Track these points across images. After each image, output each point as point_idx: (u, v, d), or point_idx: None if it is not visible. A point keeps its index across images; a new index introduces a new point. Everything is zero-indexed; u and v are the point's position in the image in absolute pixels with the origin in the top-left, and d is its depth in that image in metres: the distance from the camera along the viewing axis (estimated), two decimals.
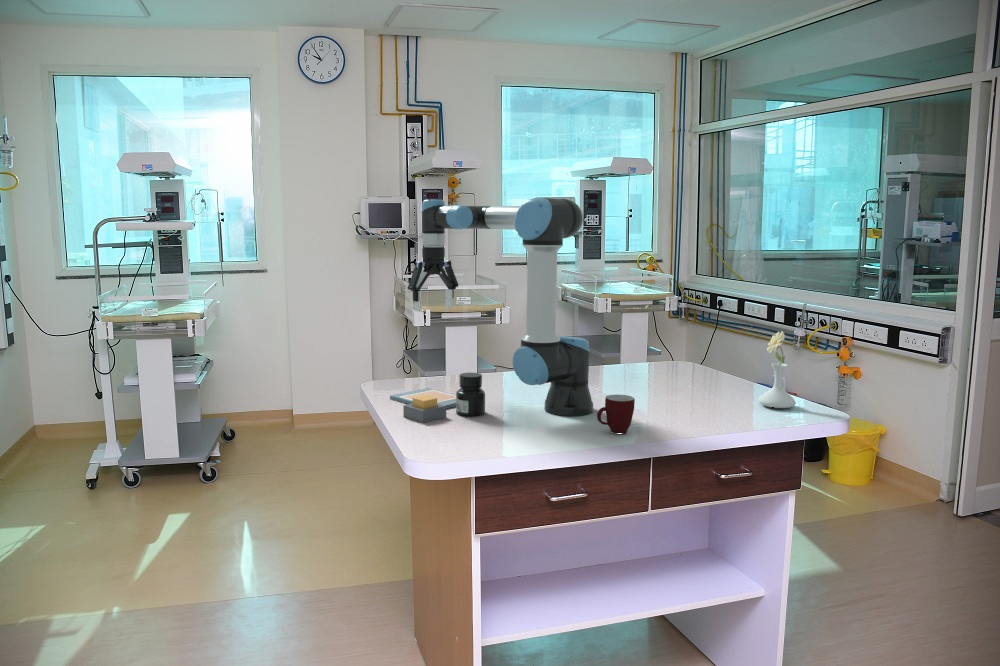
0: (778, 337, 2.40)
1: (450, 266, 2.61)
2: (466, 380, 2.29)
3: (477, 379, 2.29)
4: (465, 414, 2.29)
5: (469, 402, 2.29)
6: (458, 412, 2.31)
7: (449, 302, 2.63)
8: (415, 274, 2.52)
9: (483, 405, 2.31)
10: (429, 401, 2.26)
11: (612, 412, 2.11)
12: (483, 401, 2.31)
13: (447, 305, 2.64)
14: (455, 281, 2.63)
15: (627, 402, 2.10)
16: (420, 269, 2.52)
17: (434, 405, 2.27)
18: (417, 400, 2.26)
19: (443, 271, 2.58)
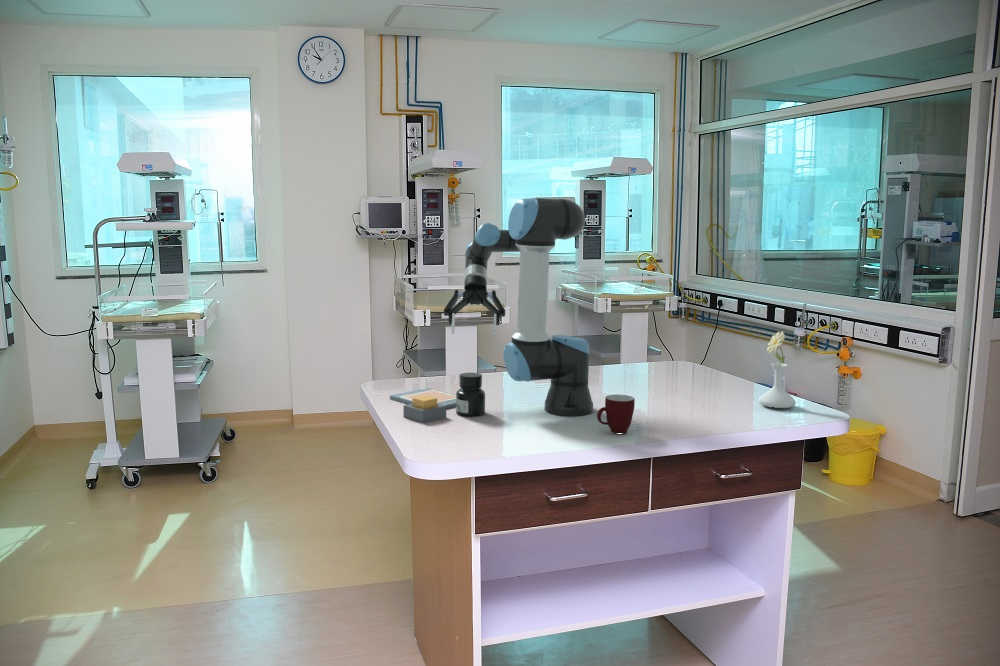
0: (778, 337, 2.40)
1: (494, 295, 2.55)
2: (466, 380, 2.29)
3: (477, 379, 2.29)
4: (465, 414, 2.29)
5: (469, 402, 2.29)
6: (458, 412, 2.31)
7: None
8: None
9: (483, 405, 2.31)
10: (429, 401, 2.26)
11: (612, 412, 2.11)
12: (483, 401, 2.31)
13: None
14: (501, 307, 2.52)
15: (627, 402, 2.10)
16: (455, 295, 2.55)
17: (434, 405, 2.27)
18: (417, 400, 2.26)
19: (483, 297, 2.54)
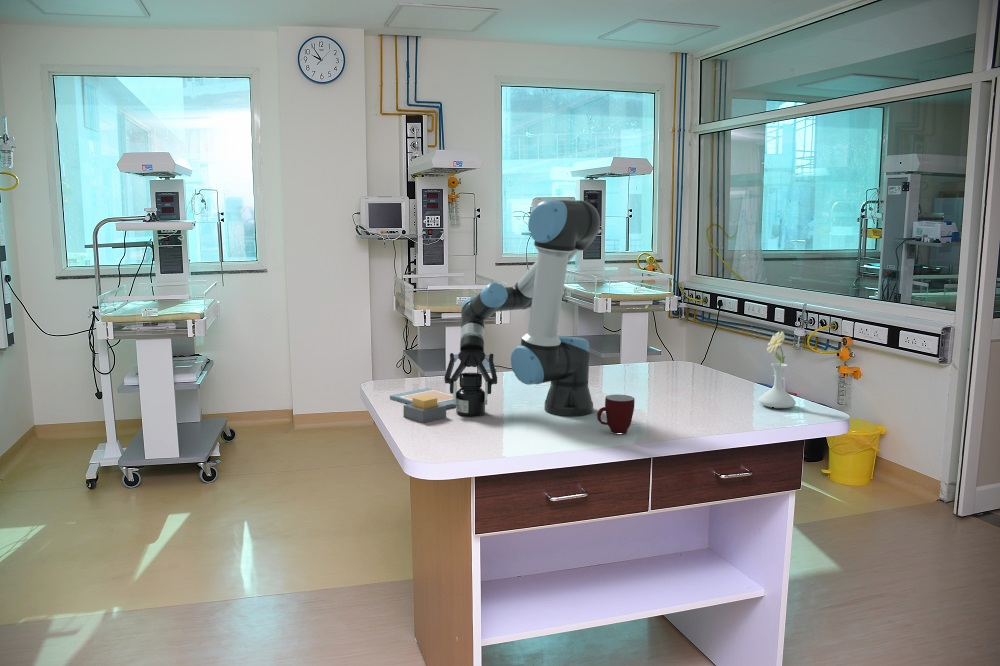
0: (778, 337, 2.40)
1: (491, 358, 2.38)
2: (466, 380, 2.29)
3: (477, 379, 2.29)
4: (465, 414, 2.29)
5: (469, 402, 2.29)
6: (458, 412, 2.31)
7: None
8: None
9: (483, 405, 2.31)
10: (429, 401, 2.26)
11: (612, 412, 2.11)
12: (483, 401, 2.31)
13: None
14: (494, 374, 2.34)
15: (627, 402, 2.10)
16: (451, 359, 2.37)
17: (434, 405, 2.27)
18: (417, 400, 2.26)
19: (479, 360, 2.37)
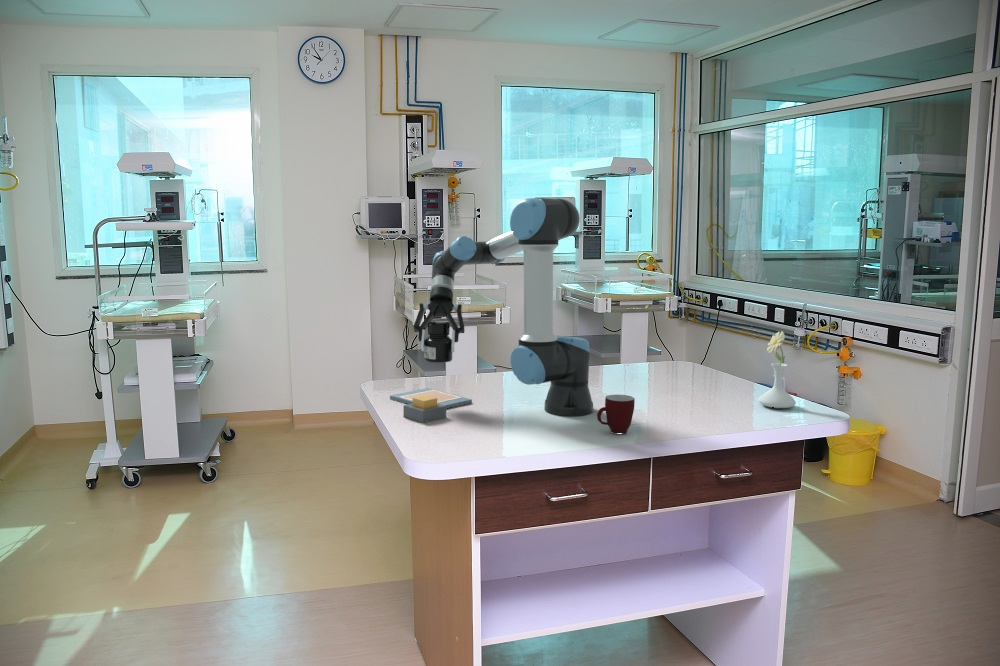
0: (778, 337, 2.40)
1: (459, 309, 2.47)
2: (434, 328, 2.38)
3: (444, 327, 2.39)
4: (433, 360, 2.39)
5: (436, 349, 2.38)
6: (426, 359, 2.41)
7: None
8: None
9: (450, 352, 2.41)
10: (429, 401, 2.26)
11: (612, 412, 2.11)
12: (450, 348, 2.41)
13: None
14: (461, 323, 2.44)
15: (627, 402, 2.10)
16: (421, 309, 2.47)
17: (434, 405, 2.27)
18: (417, 400, 2.26)
19: (447, 310, 2.46)
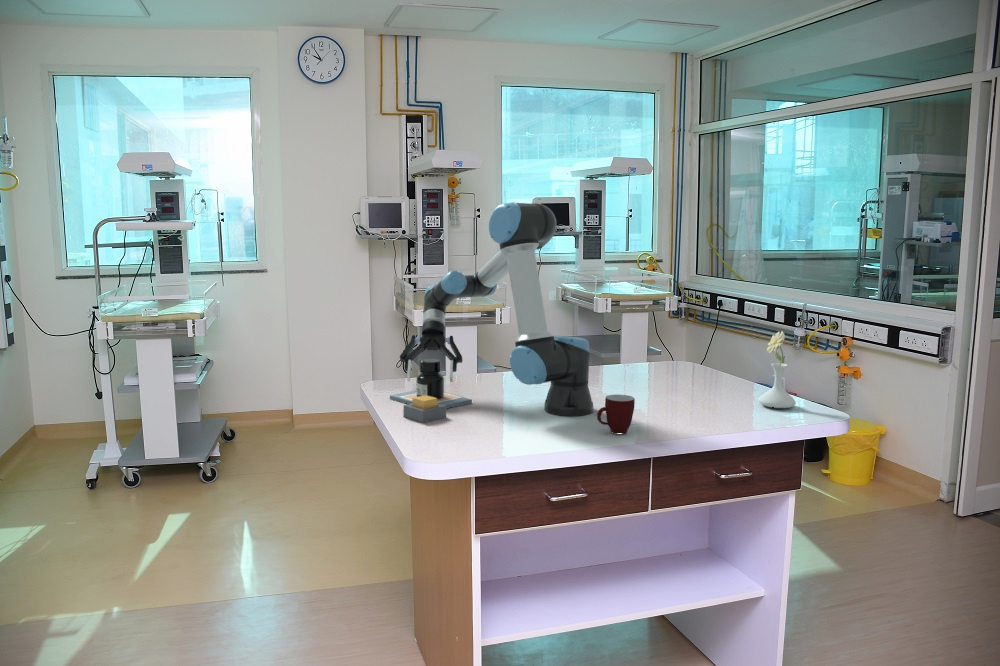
0: (778, 337, 2.40)
1: (451, 340, 2.52)
2: (425, 365, 2.43)
3: (435, 364, 2.44)
4: None
5: (427, 386, 2.43)
6: (418, 396, 2.45)
7: (450, 372, 2.46)
8: None
9: (442, 389, 2.46)
10: (429, 401, 2.26)
11: (612, 412, 2.11)
12: (442, 385, 2.46)
13: (450, 377, 2.46)
14: (458, 353, 2.49)
15: (627, 402, 2.10)
16: (412, 341, 2.52)
17: (434, 405, 2.27)
18: (417, 400, 2.26)
19: (440, 343, 2.51)
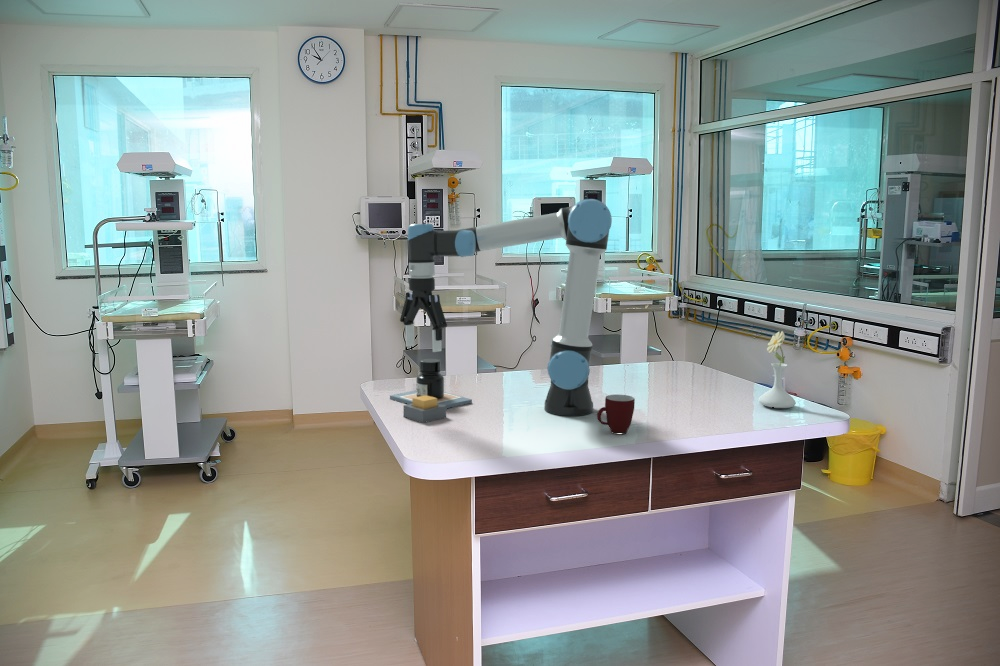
0: (778, 337, 2.40)
1: None
2: (425, 365, 2.43)
3: (435, 364, 2.44)
4: None
5: (427, 386, 2.43)
6: (418, 396, 2.45)
7: (412, 339, 2.32)
8: (439, 309, 2.19)
9: (442, 389, 2.46)
10: (429, 401, 2.26)
11: (612, 412, 2.11)
12: (442, 385, 2.46)
13: (410, 343, 2.32)
14: None
15: (627, 402, 2.10)
16: None
17: (434, 405, 2.27)
18: (417, 400, 2.26)
19: None
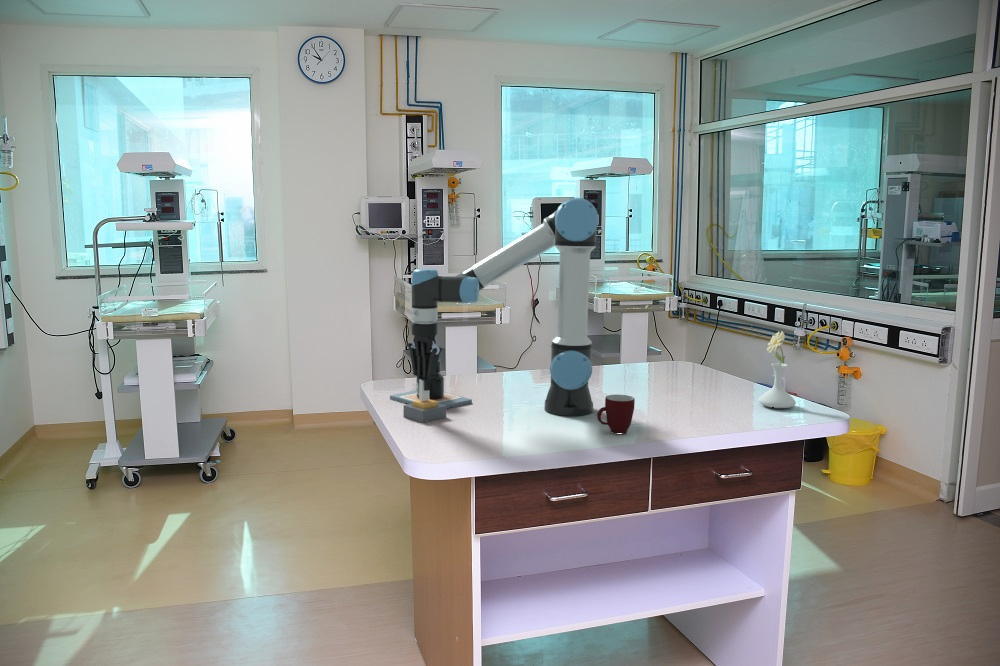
0: (778, 337, 2.40)
1: None
2: None
3: None
4: None
5: None
6: (418, 396, 2.45)
7: None
8: (435, 362, 2.23)
9: (442, 389, 2.46)
10: (429, 404, 2.26)
11: (612, 412, 2.11)
12: (442, 385, 2.46)
13: None
14: None
15: (627, 402, 2.10)
16: None
17: None
18: (417, 403, 2.26)
19: None
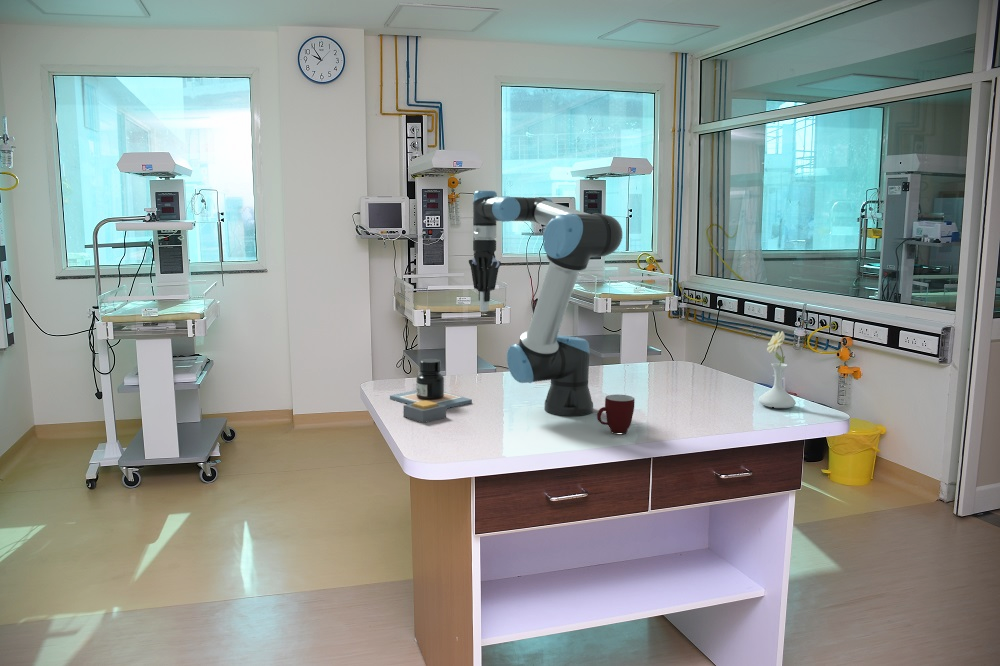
0: (778, 337, 2.40)
1: None
2: (425, 365, 2.43)
3: (435, 364, 2.44)
4: (424, 397, 2.44)
5: (427, 386, 2.43)
6: (418, 396, 2.45)
7: None
8: (494, 275, 2.47)
9: (442, 389, 2.46)
10: (429, 406, 2.26)
11: (612, 412, 2.11)
12: (442, 385, 2.46)
13: None
14: None
15: (627, 402, 2.10)
16: None
17: None
18: (417, 405, 2.27)
19: None
